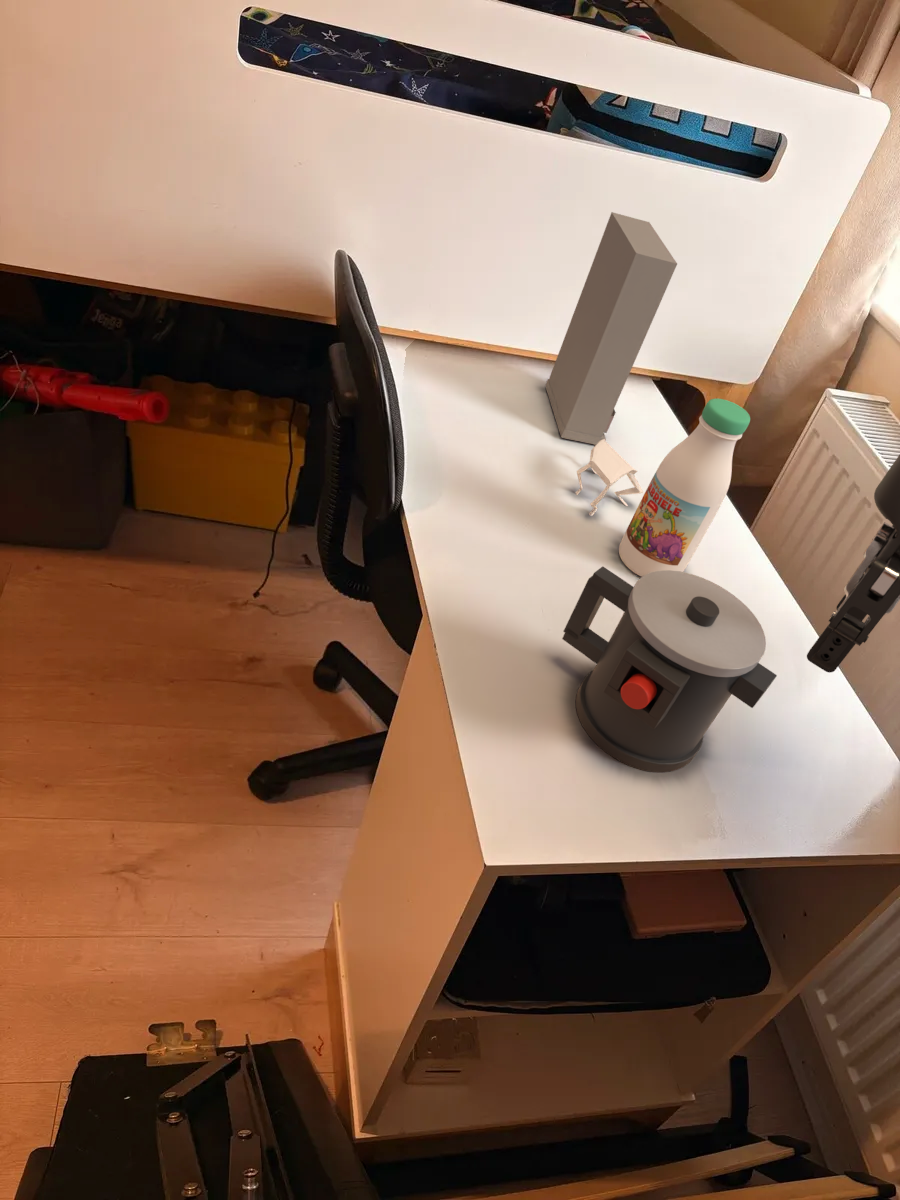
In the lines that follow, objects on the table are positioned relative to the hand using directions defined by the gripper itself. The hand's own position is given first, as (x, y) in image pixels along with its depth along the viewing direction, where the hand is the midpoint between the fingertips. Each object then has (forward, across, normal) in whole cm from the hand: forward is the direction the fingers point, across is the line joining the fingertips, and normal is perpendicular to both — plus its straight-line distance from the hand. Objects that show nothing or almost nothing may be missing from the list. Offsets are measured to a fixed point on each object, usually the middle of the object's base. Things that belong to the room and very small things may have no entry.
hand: (833, 638), depth 69 cm
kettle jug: (+17, -2, +10) cm, 20 cm away
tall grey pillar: (+17, +43, +42) cm, 62 cm away
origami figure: (+17, +29, +30) cm, 46 cm away
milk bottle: (+17, +22, +19) cm, 34 cm away
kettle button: (+9, -9, +10) cm, 16 cm away
